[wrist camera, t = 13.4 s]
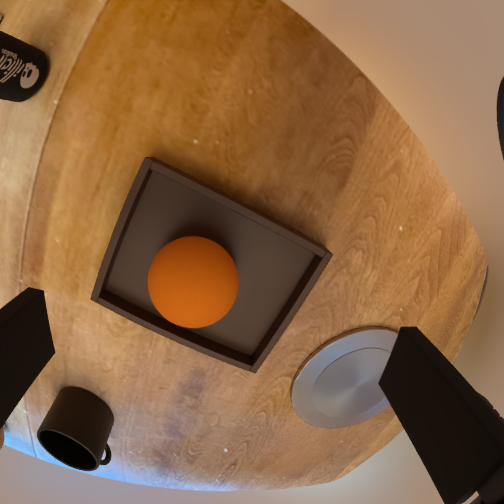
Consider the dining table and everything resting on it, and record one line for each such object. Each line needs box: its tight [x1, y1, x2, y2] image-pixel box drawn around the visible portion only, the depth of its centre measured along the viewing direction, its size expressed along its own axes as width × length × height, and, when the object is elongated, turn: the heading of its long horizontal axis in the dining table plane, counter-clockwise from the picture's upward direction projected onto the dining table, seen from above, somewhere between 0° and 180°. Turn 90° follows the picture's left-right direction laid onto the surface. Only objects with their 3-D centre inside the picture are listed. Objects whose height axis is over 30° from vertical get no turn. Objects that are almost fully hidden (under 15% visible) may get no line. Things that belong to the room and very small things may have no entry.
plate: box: [291, 326, 398, 428], centre depth 37 cm, size 18×18×1 cm
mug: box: [37, 387, 113, 471], centre depth 32 cm, size 9×12×9 cm
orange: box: [148, 236, 239, 328], centre depth 26 cm, size 8×8×8 cm
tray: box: [91, 157, 333, 373], centre depth 30 cm, size 20×16×3 cm
